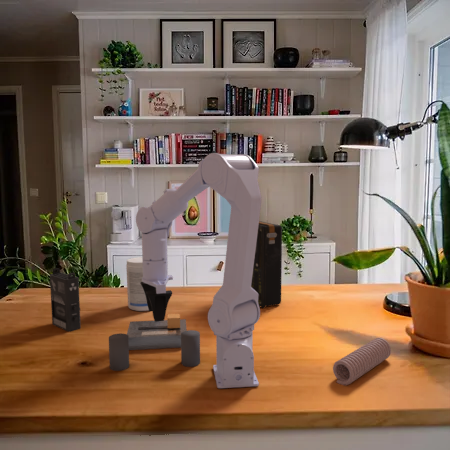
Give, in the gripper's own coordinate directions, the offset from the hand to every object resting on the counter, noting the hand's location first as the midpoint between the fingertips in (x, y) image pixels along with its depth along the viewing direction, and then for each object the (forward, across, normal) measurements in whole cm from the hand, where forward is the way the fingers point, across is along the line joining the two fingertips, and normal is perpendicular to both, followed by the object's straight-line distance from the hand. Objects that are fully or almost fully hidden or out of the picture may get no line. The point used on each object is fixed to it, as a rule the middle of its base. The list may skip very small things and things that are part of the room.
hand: (156, 315), depth 104 cm
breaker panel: (+7, +3, -1) cm, 8 cm away
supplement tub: (+8, +31, -2) cm, 32 cm away
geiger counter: (+8, +21, +20) cm, 30 cm away
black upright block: (+7, +25, -37) cm, 45 cm away
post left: (+7, -9, +10) cm, 15 cm away
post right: (+7, -12, -5) cm, 15 cm away
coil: (+8, -27, -38) cm, 47 cm away
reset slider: (+4, +2, -5) cm, 7 cm away
